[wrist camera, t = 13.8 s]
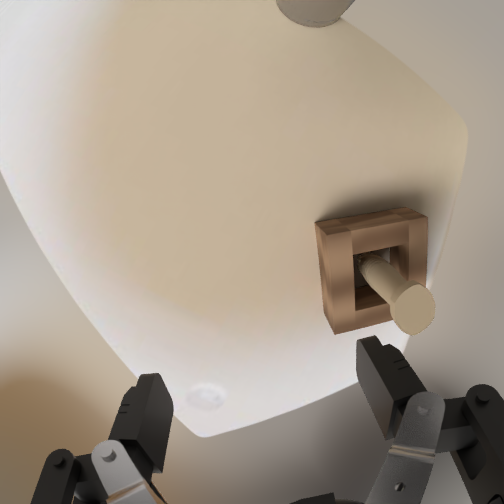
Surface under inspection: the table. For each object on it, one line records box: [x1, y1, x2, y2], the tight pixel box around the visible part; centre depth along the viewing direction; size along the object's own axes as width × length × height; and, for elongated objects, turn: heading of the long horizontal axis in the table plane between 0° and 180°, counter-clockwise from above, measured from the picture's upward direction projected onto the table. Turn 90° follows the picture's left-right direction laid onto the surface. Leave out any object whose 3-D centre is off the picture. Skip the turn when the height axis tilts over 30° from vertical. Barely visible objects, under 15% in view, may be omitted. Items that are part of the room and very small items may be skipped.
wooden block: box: [315, 207, 428, 335], centre depth 40 cm, size 14×14×6 cm
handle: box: [357, 252, 435, 335], centre depth 36 cm, size 5×6×15 cm
